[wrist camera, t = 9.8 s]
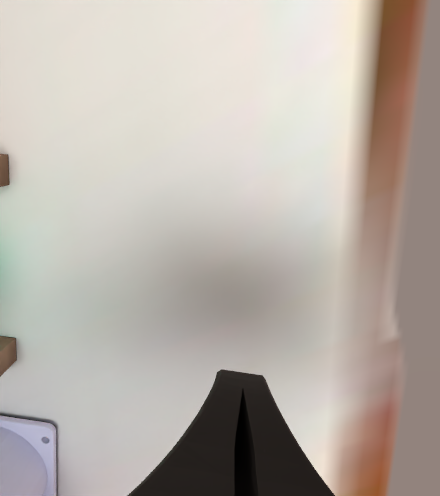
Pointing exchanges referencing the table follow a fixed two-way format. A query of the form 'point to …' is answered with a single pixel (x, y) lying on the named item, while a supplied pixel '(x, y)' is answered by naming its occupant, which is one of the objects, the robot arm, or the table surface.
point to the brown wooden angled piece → (3, 348)
